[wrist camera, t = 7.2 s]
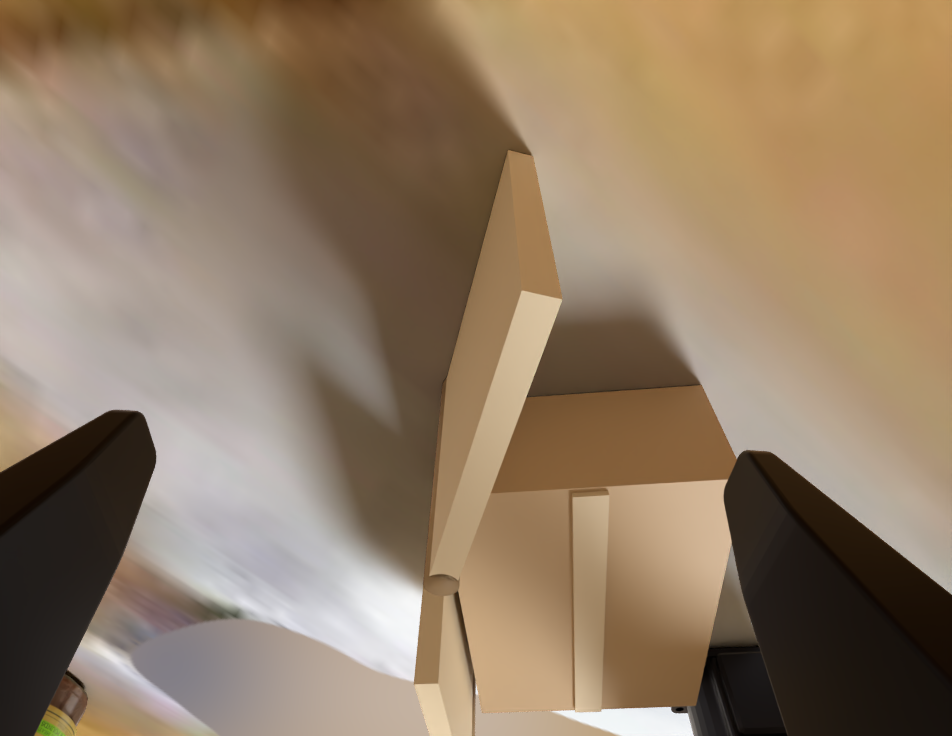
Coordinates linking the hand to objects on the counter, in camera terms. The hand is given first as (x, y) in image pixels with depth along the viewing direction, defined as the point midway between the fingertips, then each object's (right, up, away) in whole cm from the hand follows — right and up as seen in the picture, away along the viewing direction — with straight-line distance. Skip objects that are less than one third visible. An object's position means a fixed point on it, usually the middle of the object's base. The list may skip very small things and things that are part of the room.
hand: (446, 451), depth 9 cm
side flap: (-1, -8, +21) cm, 23 cm away
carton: (+5, -6, +19) cm, 21 cm away
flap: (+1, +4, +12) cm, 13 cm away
